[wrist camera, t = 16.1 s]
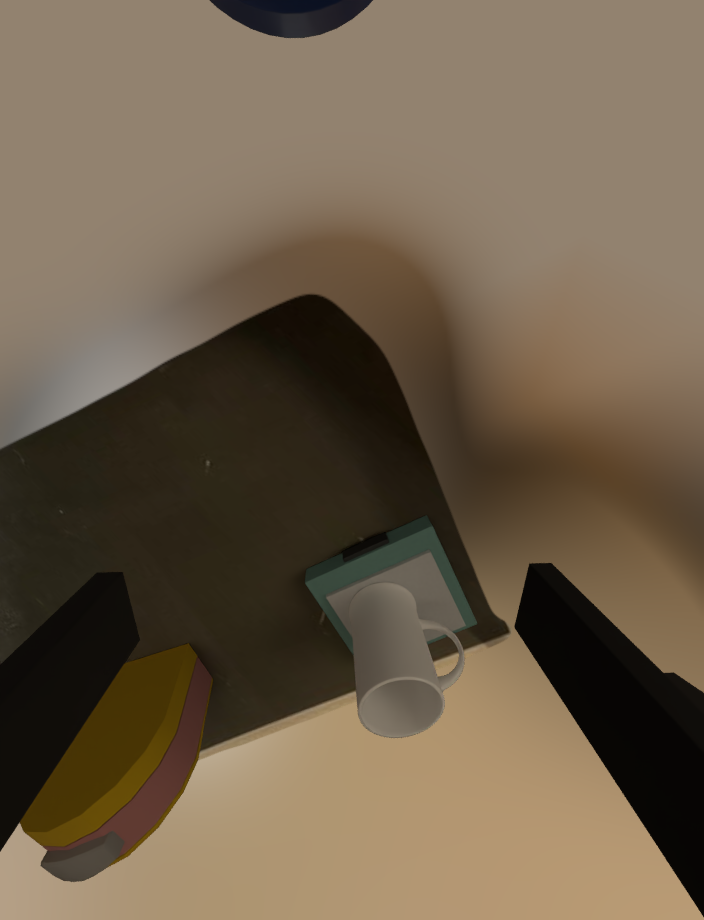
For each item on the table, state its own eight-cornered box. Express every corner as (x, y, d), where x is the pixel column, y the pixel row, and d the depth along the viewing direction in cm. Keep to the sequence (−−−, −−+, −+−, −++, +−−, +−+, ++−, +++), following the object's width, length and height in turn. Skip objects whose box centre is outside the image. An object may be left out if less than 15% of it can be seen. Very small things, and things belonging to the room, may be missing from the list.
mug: (442, 576, 40) (486, 667, 28) (439, 629, 42) (479, 732, 31) (346, 584, 39) (352, 680, 28) (350, 638, 42) (357, 744, 31)
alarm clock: (134, 707, 48) (23, 908, 31) (102, 670, 46) (-38, 868, 28) (226, 679, 47) (166, 869, 30) (200, 639, 45) (117, 823, 27)
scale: (424, 511, 40) (432, 524, 37) (469, 609, 46) (479, 627, 43) (303, 565, 42) (301, 582, 39) (361, 654, 47) (363, 674, 44)
